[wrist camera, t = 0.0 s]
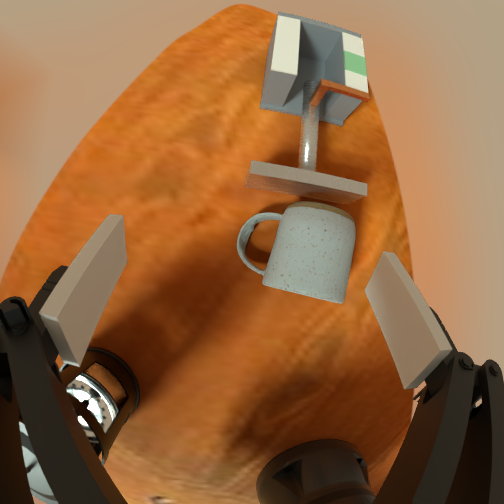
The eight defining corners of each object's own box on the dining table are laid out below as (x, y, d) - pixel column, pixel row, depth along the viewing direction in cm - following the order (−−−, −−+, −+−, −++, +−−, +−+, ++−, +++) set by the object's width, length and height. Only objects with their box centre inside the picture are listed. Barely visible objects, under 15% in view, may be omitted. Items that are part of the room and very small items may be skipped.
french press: (64, 334, 26) (-86, 410, 4) (138, 348, 27) (17, 491, 5) (75, 419, 26) (-15, 530, 3) (143, 435, 27) (90, 586, 4)
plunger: (346, 204, 30) (380, 190, 22) (244, 187, 28) (253, 163, 21) (348, 107, 30) (375, 77, 23) (259, 87, 29) (269, 47, 22)
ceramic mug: (341, 225, 30) (375, 215, 23) (325, 299, 30) (356, 310, 22) (247, 199, 29) (255, 178, 22) (227, 277, 29) (229, 282, 21)
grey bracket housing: (341, 126, 31) (368, 98, 24) (259, 108, 30) (270, 72, 22) (340, 64, 31) (361, 33, 24) (268, 47, 30) (279, 10, 23)
